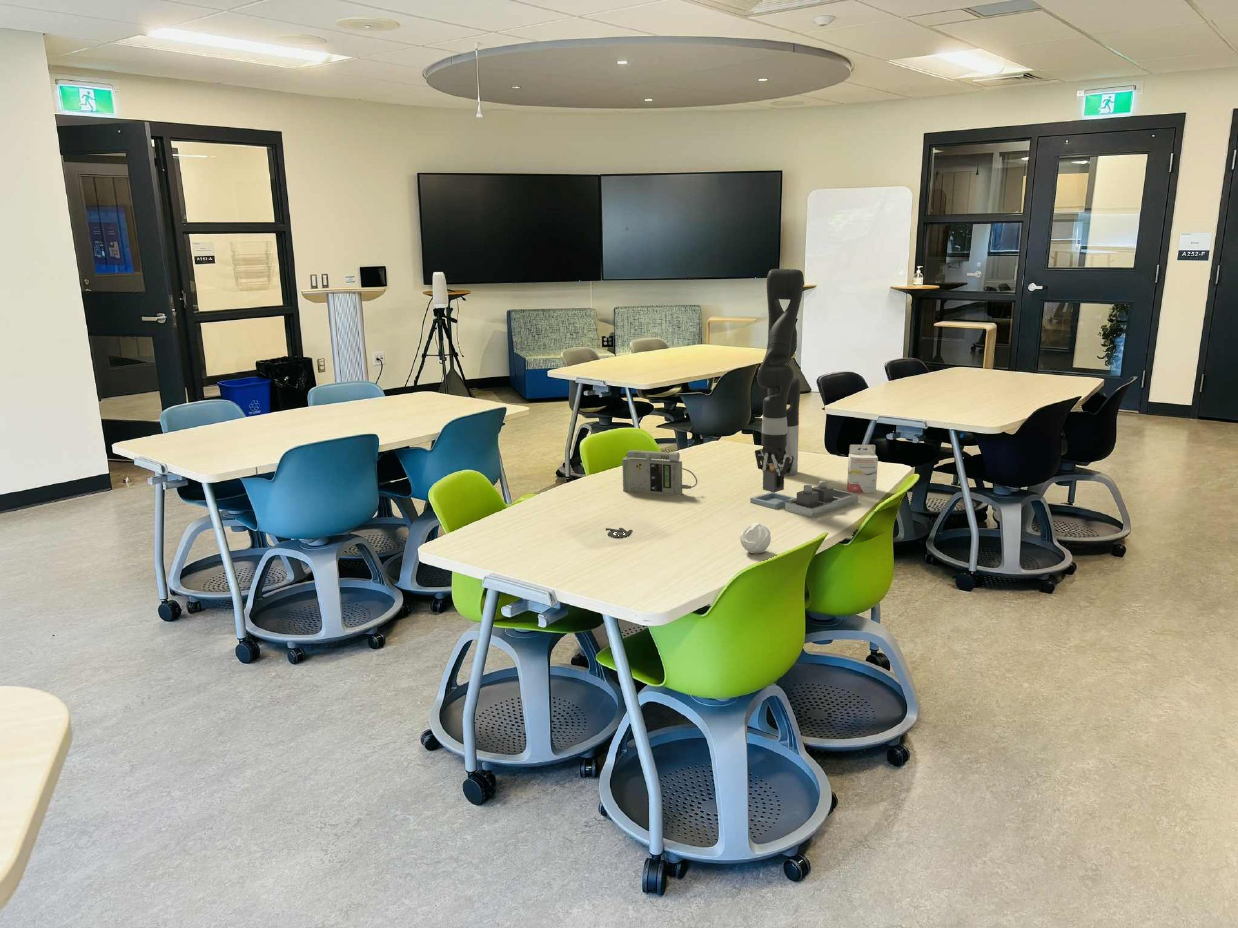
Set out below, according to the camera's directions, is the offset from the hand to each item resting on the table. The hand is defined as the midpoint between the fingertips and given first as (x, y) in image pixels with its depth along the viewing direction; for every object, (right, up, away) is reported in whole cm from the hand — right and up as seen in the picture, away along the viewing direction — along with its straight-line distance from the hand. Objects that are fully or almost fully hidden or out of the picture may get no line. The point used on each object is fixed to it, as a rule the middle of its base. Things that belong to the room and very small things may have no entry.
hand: (773, 485), depth 277 cm
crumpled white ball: (-12, -17, -41) cm, 46 cm away
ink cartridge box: (+30, -2, +13) cm, 33 cm away
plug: (0, -1, 0) cm, 2 cm away
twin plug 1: (+8, -8, -9) cm, 14 cm away
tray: (0, -6, +1) cm, 6 cm away
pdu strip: (+14, -7, -4) cm, 16 cm away
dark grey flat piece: (-49, -13, -20) cm, 54 cm away
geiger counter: (-34, -3, +17) cm, 38 cm away
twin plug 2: (+14, -7, -4) cm, 16 cm away
